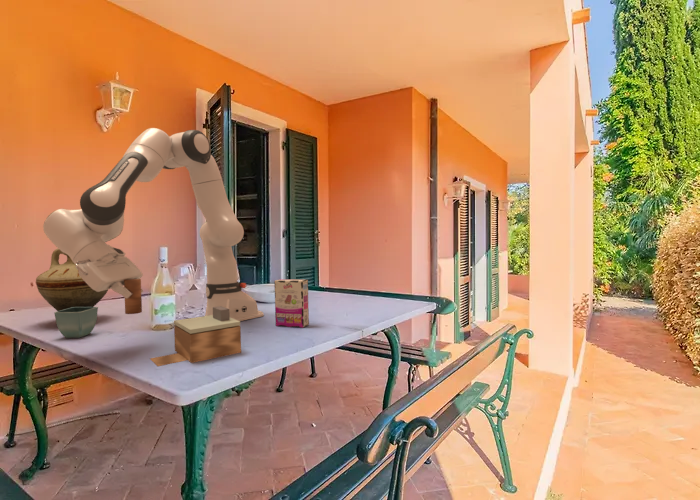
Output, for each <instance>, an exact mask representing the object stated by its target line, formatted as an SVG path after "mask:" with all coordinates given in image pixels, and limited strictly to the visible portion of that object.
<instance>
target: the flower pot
mask: <svg viewBox="0 0 700 500" xmlns="http://www.w3.org/2000/svg"><path fill="white" fill-rule="evenodd" d="M98 311H99V306H94V307H71V308H68V309H64V310H61V311H57V310H56V311H54V317H55V324H56V326H57V329H58V331H59V332H60V333H61V335H62V336H63V337H64V338H65V339H66V338H67V339H69V338H72V339H73V338H75V339H76V338H78V339H79V338H83V337H85V336H88V335H91V333H92V332H93V330H94V329H95V326H96V323H97V320H98Z"/></svg>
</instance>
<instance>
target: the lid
mask: <svg viewBox="0 0 700 500" xmlns="http://www.w3.org/2000/svg"><path fill="white" fill-rule="evenodd" d="M173 325H176V326H178V327H180V328H181V329H183V330H185V331H187V332H188V333H190V334H192V333H198V332H204V331H210V330H216V329H222V328H228V327H233V326H241V321H237V320H235V319H232V318H230V313H229V309H228V308H225V307H222V306H218V307H213V315H209V316H205V315H204V316H198V317H197V316H195V317H190V318H183V319H175V320H173Z"/></svg>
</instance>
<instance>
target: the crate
mask: <svg viewBox="0 0 700 500" xmlns="http://www.w3.org/2000/svg"><path fill="white" fill-rule="evenodd" d="M173 325H174V326H173V330H174V331H173V333H174V351H175V353H172V354H171V353H170V354H166V355H161V356H160V355H159V356H154V357H151V358H149V360H150V361H151V362H152V363H153V364H154V365H156V367H161V366H162V367H163V366H167V365H172V364H176V363H180V362H186V361H187V362H189V363H191V364H194V363H198V362H203V361H208V360H212V359H217V358H222V357H227V356H232V355H236V354H241V353H242V338H241V337H242V333H241V331H242V330H241V325H239V326H233V327H228V328H222V329H216V330H210V331H204V332H198V333H192V334H190V333H188V332H187V331H185V330H183V329H181V328H180V327H178V326H176V325H175V324H173Z"/></svg>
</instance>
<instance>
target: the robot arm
mask: <svg viewBox="0 0 700 500" xmlns="http://www.w3.org/2000/svg"><path fill="white" fill-rule="evenodd" d="M211 148H212V147H211V143H210V140H209V139H208V137H207V136H206V135H205V133H204V132H202V131H200V130H197V129H190V130H186V131H182V132H177V133H174V134H171V135H169V134H167V133H166V131H164V130H162V129H160V128H156V127H149V128H147V129H145V130H144V131H143V132H141V134H139V135H138V136H137V137H136V138H135V139H134V140H133V142H131V144H130V145H129V147H128V148H127V150H126V151H125V153H123V156H122V157H121V159H120V160H119V161H118V162H117V163H116V164H115V165H114V167H113V168H112V169H111V170H110V172H109V173H108V174H107V175H106V176H105V177H104V179H102V180H101V181H100V182H98V183H96V184H95V185H93V186H91V187H89V188H87V189H86V190H84V191H83V193H82V195H81V196H80V199H79V207H80V209H67V208H66V209H65V208H58V209H56V210H54V211H52V212H51V213H50V214H49V215H48V216H47V217H46V219H45V221H44V222H43V225H42V228H43V233H44V235H45V236H46V238H48V240H49V241H50V242H51V243H52V244H53V245H54V246H55V247H56V249H59V250H61V251H62V252H63V253H65V254H67V255H68V256H69V257H70V258H71V260H72V261H73V262H74V263H75V265H76V266H75V267H76V268H77V269H78V270H79V272H78V273H79V275H80V277H81V278H82V279H83V280H84V281H85V282H86V283H87V284H88V285H89V286H90V287H91V288H92V289H93V290H95V291H97V292H100V291H104V290H108V291H109V290H112V291H113V292H115V293H117V294H119V295H121V296H123V297H124V299H125V298H130V297H131V296H132V295H133V292H131V290H130V289H126V288H125V287H124V280H127V279H141V278H142V277H143V276H144V275H143V272H142V270H141V269H140V268H139V267H138V266H137V264H136V263H134V262H133V261H132V260H131V259H130V258H129V257H127V256H126V252H125V251H124V250H123V249H120V248H116V247H114V246H112V245H110V244H107V242H109V241H112V240H114V239H115V238H118V236H120V235H121V233H123V230H124V224H125V210H126V200H127V199H126V196H127V194H128V193H129V191H130V190H131V188H133V186H134V185H135V183H136V182H139V183H149V182H152V181H153V180H155V179H156V177H158V176H159V174H160V173H161V171H162V170H163V169H164V170H174V169H178V168H179V169H180V168H183V167H185V169H186V170H187V171H188V174H189V178H190V183H191V187H192V191H193V194H194V198H195V201H196V204H197V207H198V208H199V210H200V211H201V213H202V215H203V217H204V218H205V221H206V222H204V223H203V224H202V225H201V227H200V228H199V237H200V239H201V241H202V248H203V252H204V256H205V261H206V262H205V264H206V281H207V282H206V283H205V284H206V285H205V294H206V295H205V296H206V306H205V308H206V309H205V314H204V316H209V315H213V307H218V306H222V307H225V308H228V309H229V313H230V318H232V319H235V320H237V321H240V322H243V321H246V320H251V319H256V318H261V317H264V316H265V314H264V312H263V311H261V310H259V309H258V308H259V307H258V303H257V301H256V299H255V298H253V297H252V296H250V295H249V294H247V293H246V292H244V291H243V289H246V288H247V282H239V281H238V268H237V267H238V262H237V260H236V258H235V256H234V252H233V248H232V247H234V246H236V245H237V244H239V243H240V242H241V241H242V239H244V238H243V237H244V233H245V231H244V227H243V225H242V223H241V222H240V221H239V220H238V218H237V216H236V214H235V213H234V211H233V208H232V206H231V204H230V202H229V199H228V196H227V192H226V188H225V185H224V181H223V178H222V175H221V171H220V169H219V166H218V163H217V162H216V159H215V158H214V156H213V155H212V153H211V152H212V149H211ZM143 292H144V290H143V288H141V294H142V293H143Z"/></svg>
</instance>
